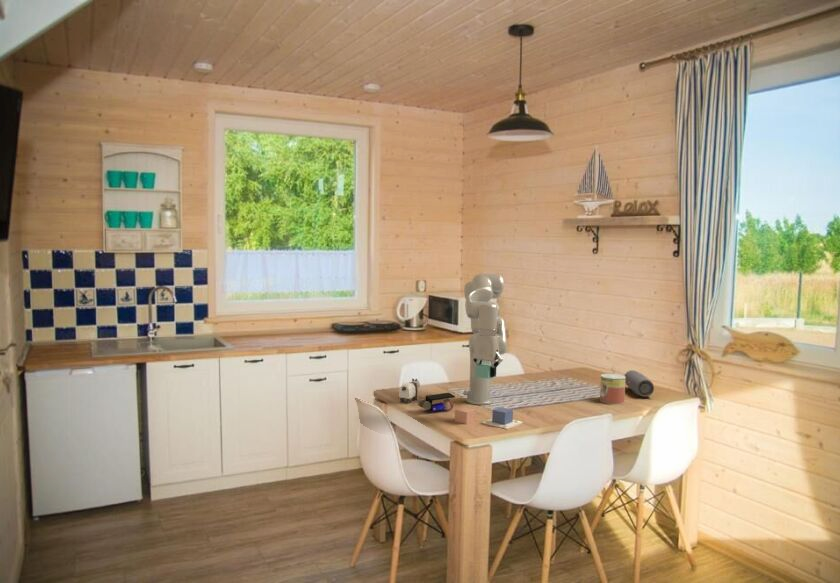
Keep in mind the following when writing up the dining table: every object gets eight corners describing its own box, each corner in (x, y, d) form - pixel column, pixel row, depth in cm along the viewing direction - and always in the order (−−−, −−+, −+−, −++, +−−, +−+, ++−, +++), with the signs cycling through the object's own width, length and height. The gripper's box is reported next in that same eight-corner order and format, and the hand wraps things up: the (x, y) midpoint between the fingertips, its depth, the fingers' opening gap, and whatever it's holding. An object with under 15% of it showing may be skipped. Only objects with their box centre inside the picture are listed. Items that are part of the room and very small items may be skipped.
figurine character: (425, 418, 278) (456, 411, 285) (423, 400, 278) (455, 394, 284) (418, 414, 285) (449, 407, 291) (416, 397, 284) (448, 390, 290)
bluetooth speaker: (622, 388, 336) (622, 369, 335) (640, 388, 336) (641, 369, 335) (635, 399, 313) (635, 378, 312) (654, 399, 313) (655, 378, 312)
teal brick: (476, 376, 275) (476, 365, 274) (484, 374, 279) (484, 363, 279) (488, 378, 271) (488, 366, 271) (496, 376, 275) (496, 365, 275)
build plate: (481, 423, 267) (482, 410, 266) (498, 417, 276) (498, 404, 276) (507, 429, 259) (507, 415, 259) (522, 422, 268) (523, 409, 268)
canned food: (594, 399, 311) (595, 374, 310) (615, 397, 315) (616, 373, 314) (608, 405, 301) (609, 379, 300) (629, 403, 304) (630, 378, 303)
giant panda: (408, 404, 296) (408, 383, 295) (397, 402, 298) (398, 382, 297) (423, 397, 308) (423, 377, 308) (413, 396, 311) (413, 376, 310)
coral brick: (454, 421, 269) (455, 409, 269) (463, 418, 274) (463, 406, 274) (466, 424, 266) (466, 412, 265) (475, 421, 270) (475, 409, 270)
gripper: (465, 331, 277) (464, 374, 278) (499, 335, 265) (498, 379, 267) (475, 330, 282) (474, 371, 283) (509, 334, 271) (508, 377, 272)
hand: (486, 375), depth 275 cm, fingers closed on teal brick, 6 cm apart
